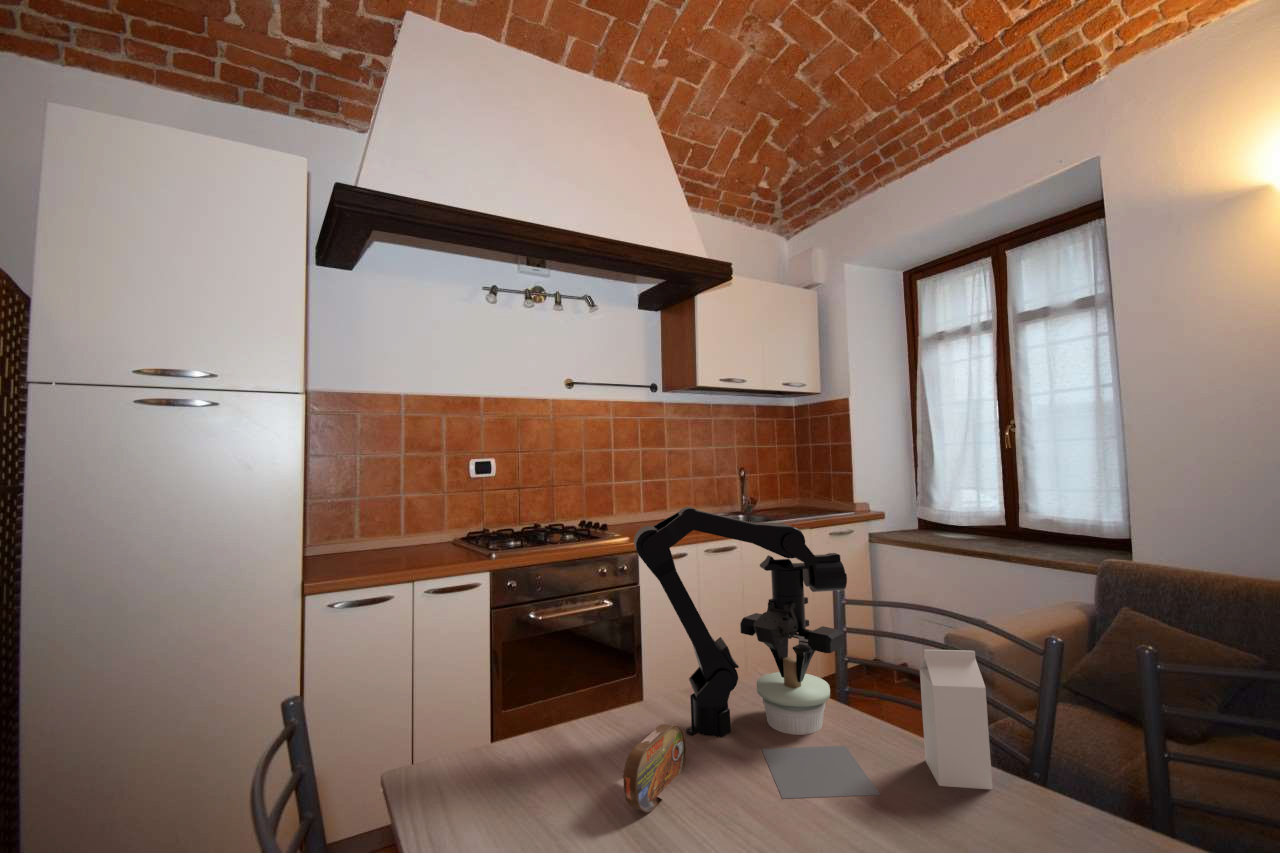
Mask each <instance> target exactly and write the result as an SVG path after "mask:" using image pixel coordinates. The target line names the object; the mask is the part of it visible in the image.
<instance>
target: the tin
mask: <svg viewBox="0 0 1280 853" xmlns="http://www.w3.org/2000/svg"><path fill="white" fill-rule="evenodd" d="M686 744H687V743H686V739H685V734H684V731H683V729H682V728H681V727H680V726H679V725H677V724H675V725H671V724H659V725H658V726H656V728H655V729H653V730H652V731H651V732H650V733H649V734H648V735H647V736H645V737H644V738H643V739H642V740H641V741H640V742H638V743H637V745H635V746H634V747H633V748H631V751H630V753H629V754H628V756H627V758H626V760H625V764H624V768H623V775H622V776H623V793H624V798H625V802H626V803H627V805H628V806H629V807H630V808H632V809H635V810H638V811H642V812H643V813H650V812H653V811H654V810H655V808H656V807H658V805H660V803H661V802H662V801H663V799H662V798H661V797H659V795H660V794H661V793H662V792H663V791H664V789H665V788H667V786H668V785H669V784H671V782H672V781H673V780H674V779H675V778H676V777H677V776H678V775H681V774H683V772H684V769H685V764H686V757H687V745H686Z"/></svg>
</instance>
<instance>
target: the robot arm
mask: <svg viewBox="0 0 1280 853" xmlns="http://www.w3.org/2000/svg"><path fill="white" fill-rule="evenodd" d="M693 531H696V532H701V533H704V534H708V535H709V534H710V535H714V536H718V537H721V538H722V537H723V538H727V539H732V540H736V541H740V542H745V543H749V544H752V545H754V546H758V547H760V548H762V549H764V550H767V551H769V552H771V553H774V554H776V555H778V556H781V557H783V558H781V559H775V558H774V557H773V556H771V555H767V556H766V558H765V559H764V560H763V561H762V562H760V563H759V568H761V569H763V570H764V571H765V572H766V571H767V572H768V571H771V572H770V573H771V575H770V576H771V592H772V594H771V596H772V597H771V598H770V599H768V601H767V611H766V612H765V611H764V612H763V613H757V612H756V613H752V614H750V615H747V616H745V617H742V619H741V621H740V623H739V624H740V625H739V627H740V628H739V631H740V634H742V635H747V636H751V637H753V636H755V635H756V638H757V641H759V642H761V643H763V644H764V645H765V646H767V647H768V648H769V650H770V652H771V654H772V656H773V658H774V662H775V664H776V666H777V669H778V670H779V671H778V672H780V674H781V677H783V678H784V669H783V658H786V657H789V640H791V639H792V638H793V639H797V640H798V644H797V645H794V646H793V647H792V650H793V652H794V653H795V658H796V665H797V679H798V682H802V681H803V679H804V676H805V673H806V674H807V671H808V668H809V665H810V663H811V660H812V658H813V656H814V654H815V652H818V653H819V652H820V653H823V654H831V653H834V652H835V651H837V650H839V649H841V648H843V647H845V635H844V633H843V632H842V631H841V629H837V628H832V627H827V626H824V625H822V626H820V627H818V628H816V629H814V630H812V629H806V628H807V627H810V620H809V619H806V612H805V611H806V609H805V606H806V605H807V604H809V598H808V597H807V596H806V597H805V591H804V590H805V589H804V586H805V587H807V588H809V589H810V591H811V592H813V593H818V592H819V593H820V592H834V591H835V592H836V591H837V592H838V591H839V592H840V591H844V590H845V589H846V588H847V583H848V577H847V575H848V574H847V573H846V571H845V567H844V564H843V563H842V561H841V554H839V553H836V552H829V553H825V554H814V553H813V551H811V549H810V548H809V547H808V546H807V544H806V538H805V536H804V533H803V532H802V530H800V529H799V528H797V527H794V526H791V525H788V524H785V523H781V522H779V523H778V522H752V521H746V520H742V519H738V518H733V517H729V516H726V515H725V516H724V515H721V514H715V513H712V512H708V511H703V510H699V509H695V508H694V507H691V506H685V507H683V508H681V509H680V510H679V511H678V512H676V513H675V514H672V515H671V516H669V517H667V518H664V519H663V520H661V521H660V522H658V523H657V524H655V525H653V526H652V525H645V526H643V527H641V528H640V529H638V530H637V532H636V533H635V535H634V537H633V538H634V539H633V545H634V547H635V550H636V553H637V554H638V556H639V557H640V558H641V561H643V563H644V564H645V565H646V567H647V568H648V569H649V570H650V572H651V573H652V574H653V575H654V577H656V579H657V580H658V581H659V583H660V585H661V586H662V589H663V591H664V593H665V594H666V596H667V598H668V600H669V602H670V603H671V606H672V607H673V609H674V612H675V613H676V615H677V617H678V619H679V620H680V622H681V625H682V626H683V628H684V630H685V632H686V633H687V636H688V638H689V639H690V642H691V644H692V648H693V650H694V654H695V658H696V660H697V661H696V662H697V664H698V667H697V669H696V670H695V671H693V673H692V674H691V675H690V677H689V678H688V681H689V683H690V686H691V688H692V691H693V693H691V694H690V698H689V699H690V718H691V719H690V721H691V726H689V727H688V728H685V733H687V734H689V735H691V736H696V735H697V734H699V735H702V736H707V737H713V736H714V737H715V738H723V737H725V736H726V735H729V734H730V733H731V731H732V730H731V709H730V708H729V698H730V695H731V692H732V691H733V690H734V689H735V688H736V687H737V684H738V681H739V674H738V671H737V669H739V667H740V666H739V665H738V663H737V662H736V660H735V659H734V658H733V656H732V655H731V652H730V648H729V646H728V645H727V644H726V642H725V641H724V639H723V638H722V637H721V636H720V637H718V638H717V639H716V640H715V639H714V638H713V637H712V635H711V634H710V632H709V630H708V628H707V626H706V624H705V623H704V620H703V618H702V617H701V614H700V613H699V611H698V609H697V608H696V606H695V603H694V602H693V600H692V598H691V596H690V594H689V593H688V590H687V589H686V587H685V585H684V583H683V581H682V579H681V577H680V576H679V573H678V572H677V568H676V565H675V562H674V557H673V555H672V551H671V547H673V546H675V545H676V544H678V543H679V542H680V541H682V539H683V538H685V537H686V536H688V534H690V533H692V532H693ZM791 559H796V560H798V561H800V562H794V563H793V562H792V560H791Z"/></svg>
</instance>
